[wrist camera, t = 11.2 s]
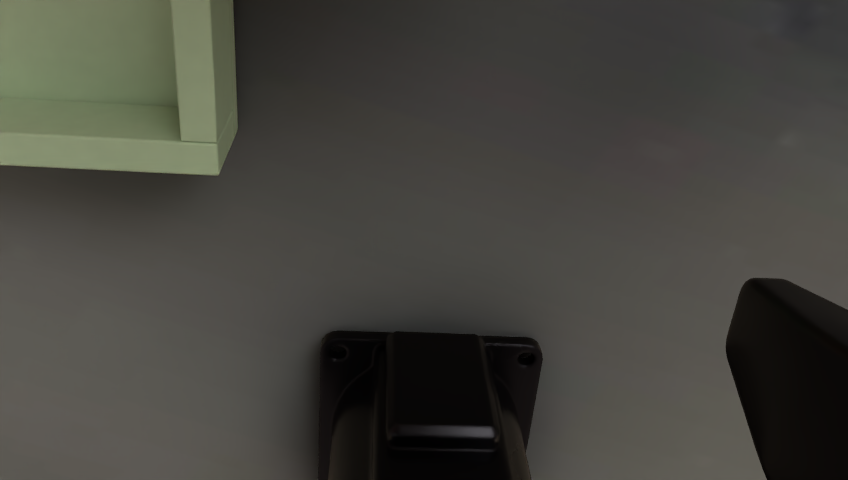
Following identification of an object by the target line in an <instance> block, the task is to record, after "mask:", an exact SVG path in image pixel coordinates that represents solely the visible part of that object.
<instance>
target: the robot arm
mask: <svg viewBox="0 0 848 480" xmlns="http://www.w3.org/2000/svg"><path fill="white" fill-rule="evenodd" d="M334 346H341V347H343V348H345V350H343V351H340V352H337V351H334V350H332V349H331V348H332V347H334ZM525 352H528V353H531V355H530V356H528V357H526V358H521V357H518V356H519V355H520V354H522V353H525ZM726 354H727V359H728V362H729V366H730V369H731V372H732V375H733V378H734V381H735V385H736V388H737V391H738V394H739V397H740V401H741V404H742V407H743V410H744V413H745V416H746V420H747V423H748V426H749V429H750V432H751V435H752V439H753V442H754V445H755V448H756V451H757V454H758V457H759V460H760V463H761V465H762V468H763V471H764V473H765V476H766V478H767V480H848V310H847V309H845V308H842V307H840V306H838V305H836V304H834V303H832V302H830V301H828V300H826V299H824V298H822V297H820V296H818V295H816V294H814V293H812V292H810V291H808V290H806V289H804V288H801V287H799V286H797V285H795V284H793V283H791V282H789V281H787V280H784V279H774V278H752V279H749V280H748V281H746V282H745V283H744V285H743V286H742V288H741V291H740V294H739V297H738V300H737V304H736V307H735V311H734V314H733V317H732V321H731V324H730V328H729V331H728V335H727V339H726ZM542 361H543V358H542V352H541V348H540V346H539V344H538V342H537V341H535V340H534V339H532V338H527V337H501V336H478V335H475V334H451V333H423V332H394V333H389V332H361V331H333V332H330V333H328V334H327V335H326V336H325V337H324V338H323V340H322V344H321V352H320V408H319V467H318V480H531V475H530V471H529V466H528V461H527V457H526V449H527V443H528V438H529V432H530V427H531V421H532V416H533V410H534V405H535V399H536V394H537V388H538V383H539V377H540V372H541V366H542Z"/></svg>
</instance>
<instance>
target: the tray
mask: <svg viewBox="0 0 848 480" xmlns="http://www.w3.org/2000/svg"><path fill="white" fill-rule="evenodd" d="M237 130H238V118H237V92H236V65H235V39H234V12H233V0H0V165H9V166H29V167H49V168H70V169H90V170H110V171H131V172H151V173H171V174H191V175H212V176H217V175H219V173H220V171H221V168H222V166H223V164H224V161H225V159H226V156H227V154H228V152H229V149H230V147H231V145H232V142H233V140H234V137H235V135H236V133H237Z"/></svg>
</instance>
